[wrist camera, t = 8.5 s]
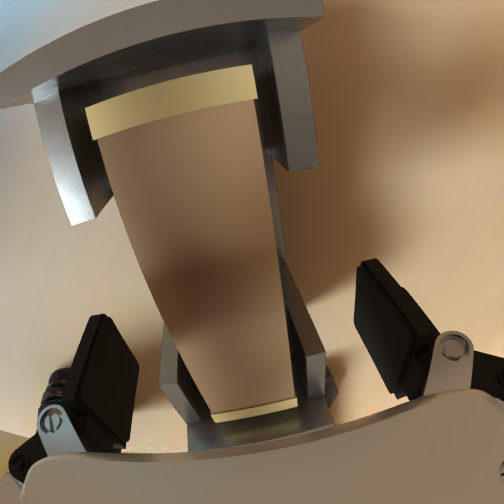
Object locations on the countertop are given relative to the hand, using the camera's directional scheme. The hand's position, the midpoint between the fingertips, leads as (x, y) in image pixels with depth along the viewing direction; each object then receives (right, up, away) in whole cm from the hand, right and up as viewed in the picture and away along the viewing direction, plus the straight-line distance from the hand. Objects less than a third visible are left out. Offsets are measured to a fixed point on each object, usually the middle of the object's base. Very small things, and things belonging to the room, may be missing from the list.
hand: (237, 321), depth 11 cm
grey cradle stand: (-2, +5, +8) cm, 10 cm away
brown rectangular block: (-1, +2, +4) cm, 5 cm away
